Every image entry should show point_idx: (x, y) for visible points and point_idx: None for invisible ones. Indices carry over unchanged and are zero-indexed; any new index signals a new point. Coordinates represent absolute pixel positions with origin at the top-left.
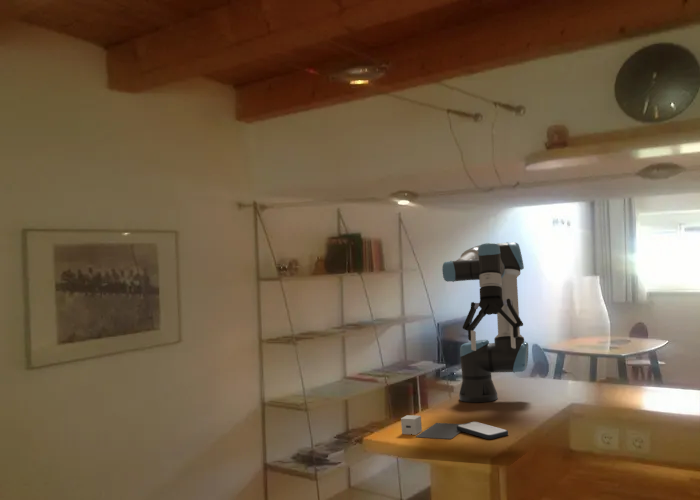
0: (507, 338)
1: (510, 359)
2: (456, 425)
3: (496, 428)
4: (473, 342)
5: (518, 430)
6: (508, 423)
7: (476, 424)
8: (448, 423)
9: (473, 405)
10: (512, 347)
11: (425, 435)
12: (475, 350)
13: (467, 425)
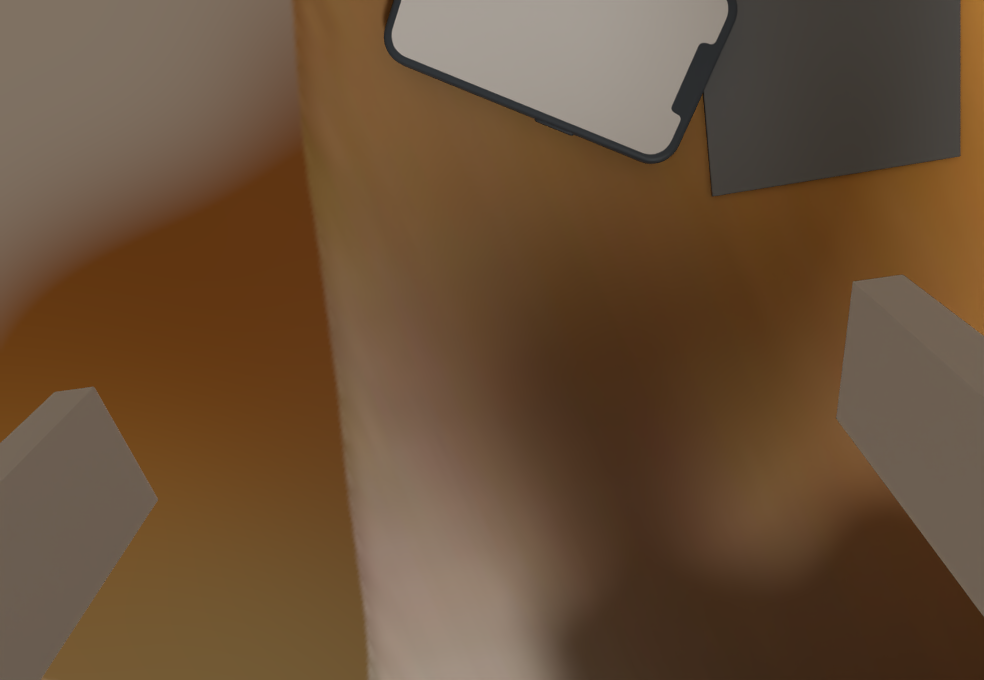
0: None
1: None
2: (788, 136)
3: (464, 58)
4: (940, 377)
5: (385, 176)
6: (505, 312)
7: (620, 88)
8: (865, 167)
9: (893, 671)
10: (94, 412)
11: None
12: (843, 394)
13: (666, 35)
